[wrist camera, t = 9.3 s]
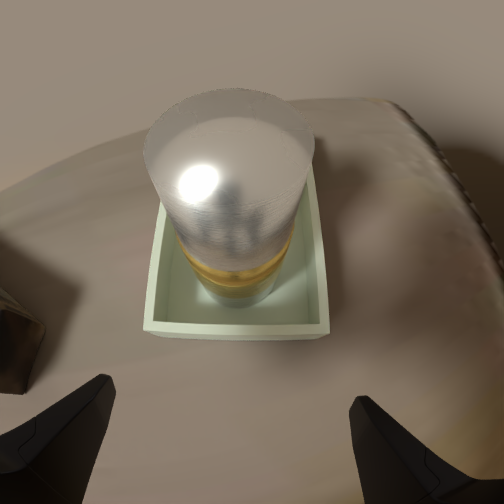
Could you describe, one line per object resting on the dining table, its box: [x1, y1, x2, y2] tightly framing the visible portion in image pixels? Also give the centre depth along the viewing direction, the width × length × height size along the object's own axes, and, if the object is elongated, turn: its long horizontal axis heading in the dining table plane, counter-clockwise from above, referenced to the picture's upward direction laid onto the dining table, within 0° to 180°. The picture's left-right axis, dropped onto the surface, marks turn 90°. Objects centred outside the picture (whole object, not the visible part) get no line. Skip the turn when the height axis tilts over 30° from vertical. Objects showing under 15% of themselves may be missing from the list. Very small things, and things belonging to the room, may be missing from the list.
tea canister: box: [143, 89, 315, 309], centre depth 14 cm, size 6×6×13 cm
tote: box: [143, 162, 330, 341], centre depth 21 cm, size 17×11×4 cm, turn 0°
